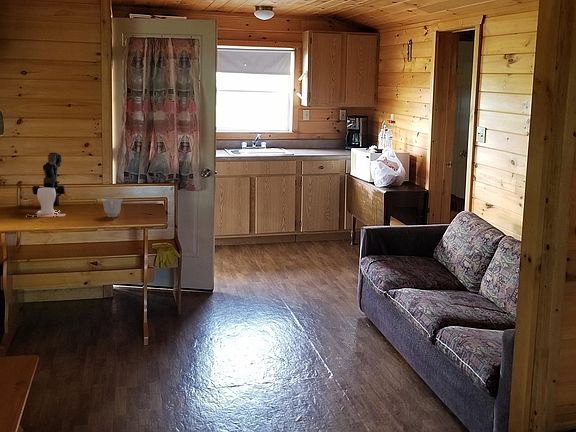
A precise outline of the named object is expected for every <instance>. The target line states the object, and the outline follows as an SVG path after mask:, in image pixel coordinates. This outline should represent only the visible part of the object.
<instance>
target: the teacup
mask: <svg viewBox="0 0 576 432" xmlns="http://www.w3.org/2000/svg"><path fill="white" fill-rule="evenodd" d="M101 201H102V203H103V211H104V213H105V214H106V215H107V217H108V218H116V217H118V215H119V214H120V212H121V207H122V202H123V198H117V197H116V198H114V197H111V198H103V199H101Z"/></svg>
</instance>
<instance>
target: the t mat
mask: <svg viewBox="0 0 576 432" xmlns="http://www.w3.org/2000/svg"><path fill="white" fill-rule="evenodd" d="M57 210H59V209H54V213H57V215H56V214H54V213H53V214H41V210H38V211H37V212H36V213H35V214H37V217H36V218H49V217H52V218H54V217H56V216H58V217H59V218H61V217H65V216H66V215H67V214H66V213H61V211H60V210H59V211H58V212H59V213H58V212H55V211H57ZM41 215H42V216H41ZM53 216H54V217H53ZM25 218H28V217H27V215H26V216H25ZM31 218H35V217H34V215H33V216H32V217H31Z"/></svg>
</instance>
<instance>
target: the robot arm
mask: <svg viewBox="0 0 576 432" xmlns="http://www.w3.org/2000/svg"><path fill="white" fill-rule="evenodd" d="M62 162H63V157H62V154H59V153H58V152H49V153H48V155H47V162H45V163H44V164H43V166H42V171H43V173H44V178H43V186H42V187H40V185H33V186H32V187H31V188H32V189H31V190H32V194H33V195H37V192H38V189H39V188H55V192H56V198H55V201H54V203H53V207H54V206H55V207H57V206H61V204H60V200H59V199H60V197H61V196H62V195H65V194H66V189H65V185H59V183H58V181H57V180H58V172H59V171H58V170H59V167H61V166H62V165H61V164H62Z"/></svg>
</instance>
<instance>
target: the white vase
mask: <svg viewBox="0 0 576 432" xmlns="http://www.w3.org/2000/svg"><path fill="white" fill-rule="evenodd" d="M55 198H56V192H55V188H42V187H40V188H39V189H38V192H37V200H38V202H39V203H40V211H41V214H53V213H54V210H55V209H54V206H53V203H54V201H55Z"/></svg>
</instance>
